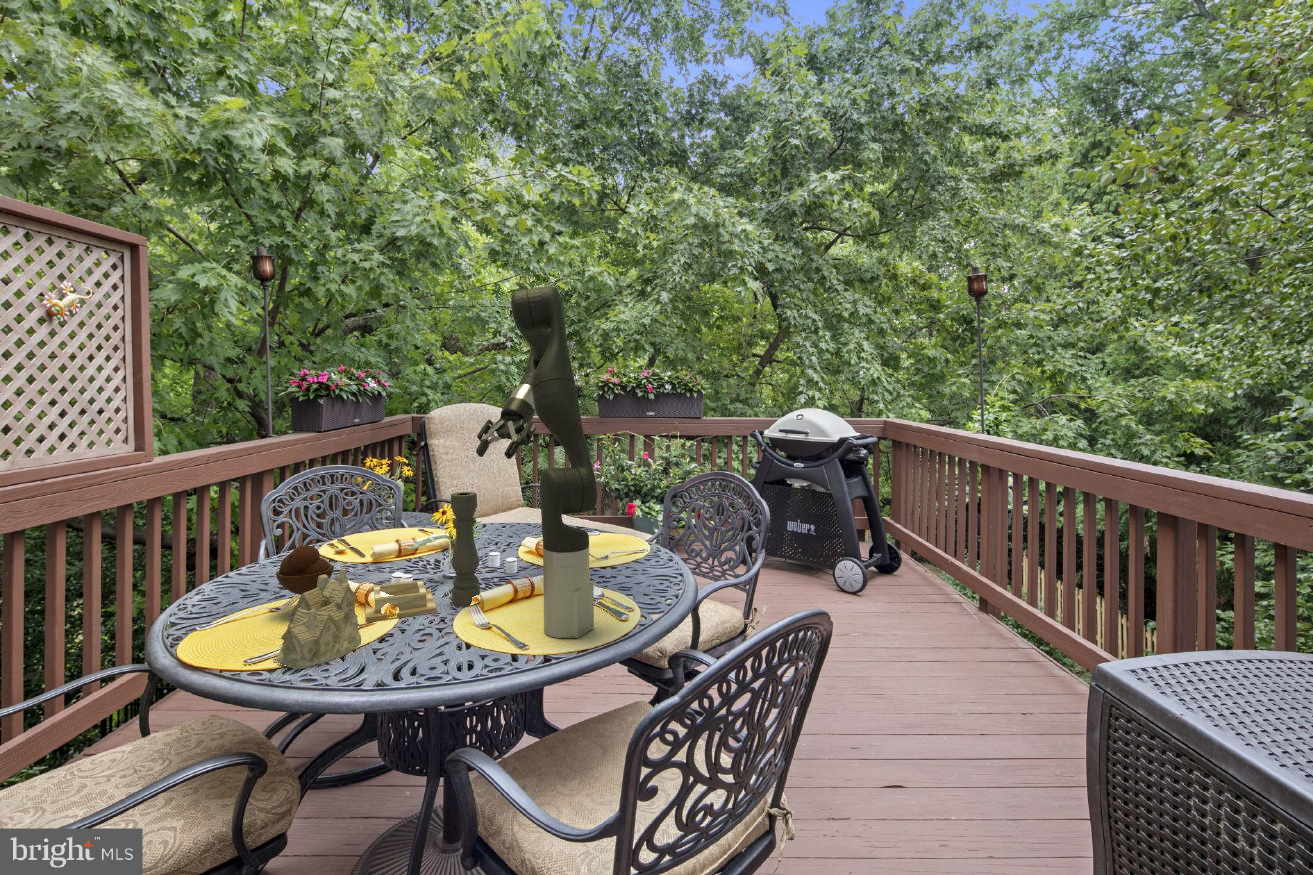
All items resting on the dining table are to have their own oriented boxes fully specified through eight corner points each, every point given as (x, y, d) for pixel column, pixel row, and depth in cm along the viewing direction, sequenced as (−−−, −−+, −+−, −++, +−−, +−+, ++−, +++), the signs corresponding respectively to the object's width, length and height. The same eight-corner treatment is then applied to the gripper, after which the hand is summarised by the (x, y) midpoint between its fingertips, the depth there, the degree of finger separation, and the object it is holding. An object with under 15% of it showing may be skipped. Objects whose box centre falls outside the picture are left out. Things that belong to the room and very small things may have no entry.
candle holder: (472, 607, 143) (469, 497, 141) (446, 605, 145) (444, 495, 143) (485, 598, 150) (482, 492, 147) (460, 596, 151) (458, 491, 149)
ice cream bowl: (346, 607, 144) (343, 541, 142) (299, 624, 133) (296, 553, 132) (313, 600, 148) (310, 536, 147) (266, 616, 138) (263, 547, 137)
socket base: (436, 612, 140) (435, 594, 140) (366, 622, 135) (365, 603, 134) (430, 593, 153) (429, 576, 153) (365, 601, 147) (365, 584, 147)
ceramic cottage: (326, 625, 133) (320, 555, 130) (378, 644, 125) (373, 570, 122) (247, 657, 119) (239, 581, 117) (300, 681, 111) (293, 599, 109)
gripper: (492, 395, 163) (461, 444, 154) (538, 396, 157) (509, 447, 148) (506, 415, 168) (477, 464, 159) (551, 417, 162) (524, 467, 153)
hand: (492, 455), depth 153 cm, fingers open, 8 cm apart
